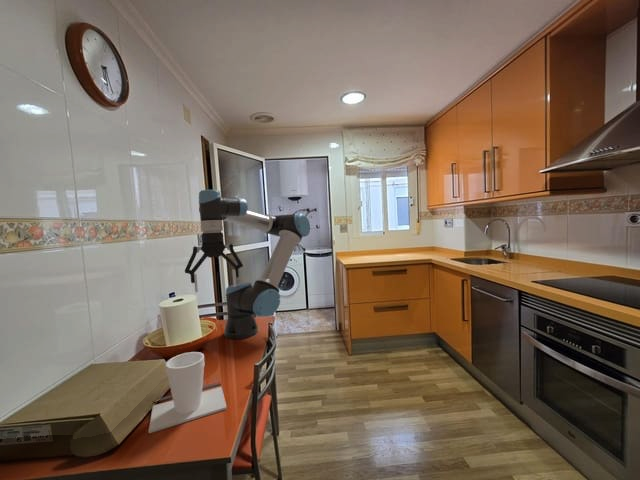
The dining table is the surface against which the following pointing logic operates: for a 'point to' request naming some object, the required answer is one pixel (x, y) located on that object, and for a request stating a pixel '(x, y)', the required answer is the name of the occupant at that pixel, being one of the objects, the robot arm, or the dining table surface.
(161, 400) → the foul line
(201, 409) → the mat
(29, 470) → the dining table surface
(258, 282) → the robot arm
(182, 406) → the foam cup
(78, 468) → the dining table surface
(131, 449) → the dining table surface
